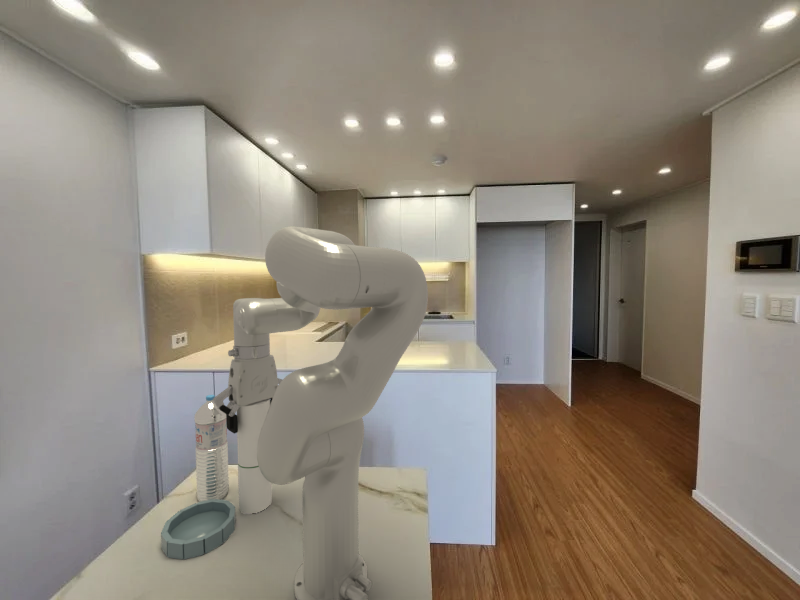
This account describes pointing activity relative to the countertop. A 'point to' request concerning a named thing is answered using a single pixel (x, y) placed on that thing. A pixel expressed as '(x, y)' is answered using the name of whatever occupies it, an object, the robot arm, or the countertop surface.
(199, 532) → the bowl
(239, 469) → the cylindrical container
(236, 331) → the robot arm
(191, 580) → the countertop surface
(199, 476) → the water bottle
